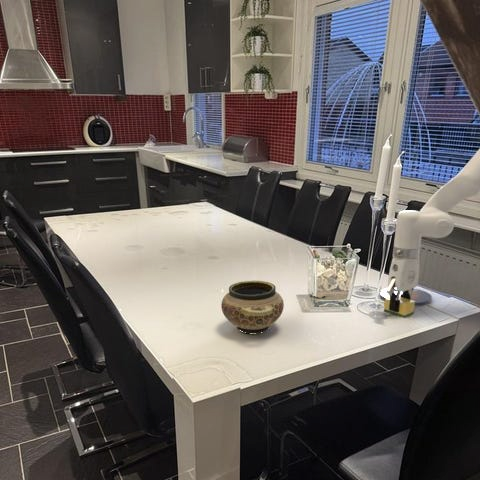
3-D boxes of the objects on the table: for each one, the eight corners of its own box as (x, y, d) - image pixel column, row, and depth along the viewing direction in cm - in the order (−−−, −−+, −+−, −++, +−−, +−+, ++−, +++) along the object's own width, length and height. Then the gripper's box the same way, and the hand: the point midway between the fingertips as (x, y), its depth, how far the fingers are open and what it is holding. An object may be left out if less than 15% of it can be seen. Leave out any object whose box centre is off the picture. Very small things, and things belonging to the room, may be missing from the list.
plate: (441, 298, 160) (441, 295, 160) (413, 309, 150) (413, 306, 150) (398, 287, 172) (398, 284, 172) (369, 296, 163) (369, 293, 162)
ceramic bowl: (226, 322, 149) (213, 280, 143) (279, 306, 149) (268, 263, 144) (235, 356, 127) (220, 307, 121) (297, 338, 127) (285, 288, 121)
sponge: (413, 314, 147) (415, 301, 145) (404, 318, 144) (406, 304, 142) (393, 307, 152) (394, 295, 151) (383, 311, 150) (385, 298, 148)
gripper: (400, 259, 133) (393, 318, 140) (432, 250, 143) (424, 306, 150) (378, 254, 139) (372, 311, 146) (411, 246, 149) (404, 300, 155)
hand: (399, 308), depth 148 cm, fingers closed on sponge, 4 cm apart
